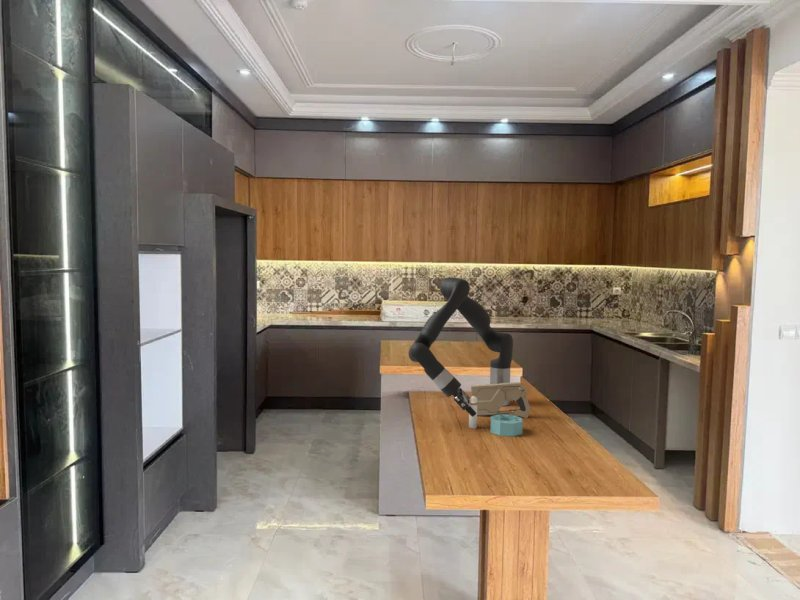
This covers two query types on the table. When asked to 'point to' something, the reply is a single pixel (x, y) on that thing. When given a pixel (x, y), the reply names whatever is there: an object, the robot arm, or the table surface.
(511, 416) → the bead
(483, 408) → the gun
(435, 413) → the table surface
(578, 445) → the table surface
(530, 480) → the table surface
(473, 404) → the striped domed peg
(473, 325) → the robot arm
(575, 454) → the table surface
